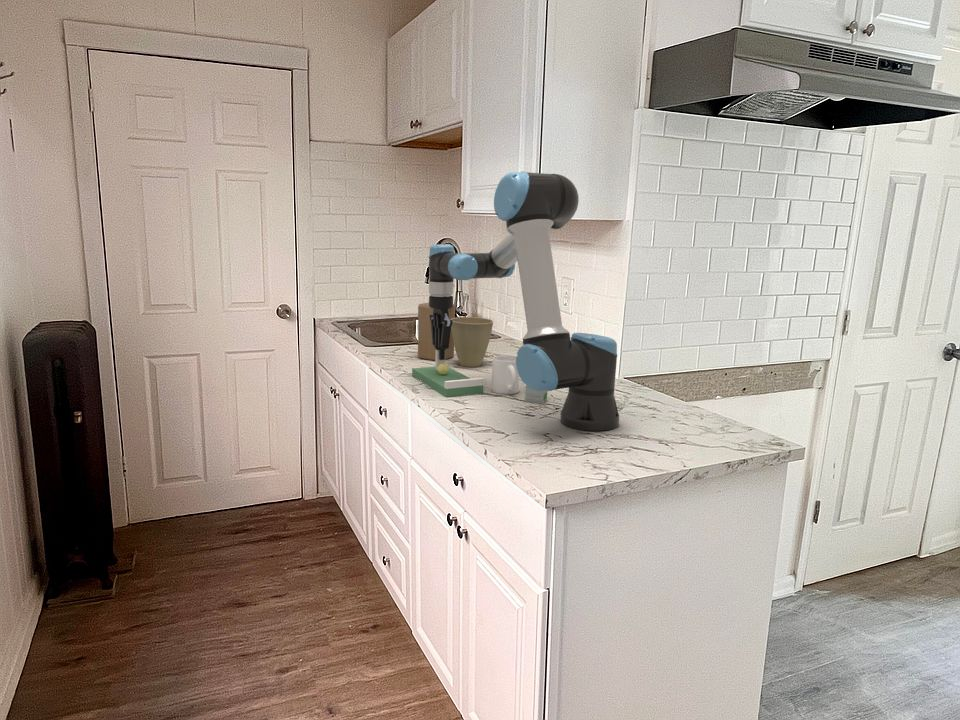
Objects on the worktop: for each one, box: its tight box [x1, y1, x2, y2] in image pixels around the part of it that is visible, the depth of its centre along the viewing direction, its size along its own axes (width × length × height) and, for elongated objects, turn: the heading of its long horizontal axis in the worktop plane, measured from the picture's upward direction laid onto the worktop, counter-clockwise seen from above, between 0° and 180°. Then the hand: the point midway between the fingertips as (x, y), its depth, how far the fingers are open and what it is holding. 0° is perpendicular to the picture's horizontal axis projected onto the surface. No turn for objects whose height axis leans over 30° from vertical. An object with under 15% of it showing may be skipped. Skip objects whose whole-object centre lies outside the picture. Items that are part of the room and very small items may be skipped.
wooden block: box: [417, 301, 456, 361], centre depth 252 cm, size 10×10×20 cm
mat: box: [411, 366, 485, 398], centre depth 216 cm, size 28×12×4 cm, turn 26°
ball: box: [437, 363, 449, 375], centre depth 218 cm, size 4×4×4 cm
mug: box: [491, 354, 521, 396], centre depth 207 cm, size 12×8×10 cm
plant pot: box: [451, 316, 494, 368], centre depth 242 cm, size 15×15×16 cm
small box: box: [523, 385, 548, 404], centre depth 201 cm, size 6×6×5 cm
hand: (440, 369), depth 220 cm, fingers closed
